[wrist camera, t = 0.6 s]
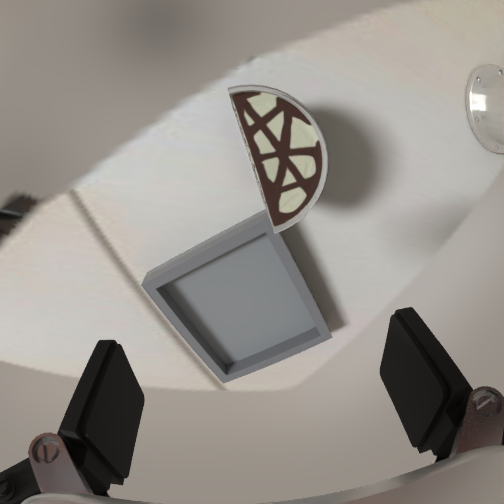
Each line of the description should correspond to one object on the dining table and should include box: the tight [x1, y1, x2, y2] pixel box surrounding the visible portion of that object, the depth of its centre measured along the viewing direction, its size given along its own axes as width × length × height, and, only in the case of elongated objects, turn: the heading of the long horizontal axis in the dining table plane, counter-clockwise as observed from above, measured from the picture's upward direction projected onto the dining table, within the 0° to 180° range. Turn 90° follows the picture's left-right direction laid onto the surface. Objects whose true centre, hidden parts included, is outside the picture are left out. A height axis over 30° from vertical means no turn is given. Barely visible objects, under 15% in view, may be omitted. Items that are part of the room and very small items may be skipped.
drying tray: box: [142, 209, 332, 383], centre depth 37 cm, size 16×18×3 cm
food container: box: [227, 85, 329, 234], centre depth 27 cm, size 12×6×10 cm, turn 17°
